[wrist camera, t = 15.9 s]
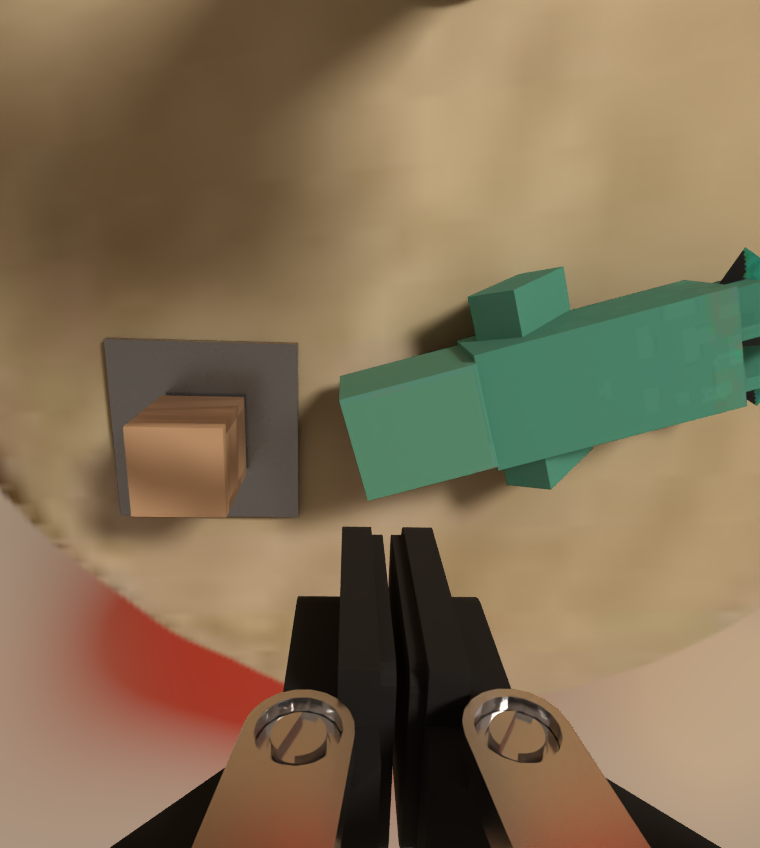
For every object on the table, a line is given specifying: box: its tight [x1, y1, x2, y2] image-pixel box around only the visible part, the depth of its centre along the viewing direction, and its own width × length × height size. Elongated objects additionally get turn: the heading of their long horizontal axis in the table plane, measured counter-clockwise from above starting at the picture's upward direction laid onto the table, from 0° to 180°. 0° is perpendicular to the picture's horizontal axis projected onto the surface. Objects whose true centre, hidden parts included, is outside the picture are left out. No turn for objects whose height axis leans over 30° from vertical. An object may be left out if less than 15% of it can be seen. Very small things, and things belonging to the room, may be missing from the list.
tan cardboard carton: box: [123, 395, 247, 517], centre depth 36 cm, size 5×5×7 cm
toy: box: [339, 247, 760, 501], centre depth 35 cm, size 12×10×30 cm
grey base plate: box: [104, 338, 299, 517], centre depth 37 cm, size 12×12×7 cm
